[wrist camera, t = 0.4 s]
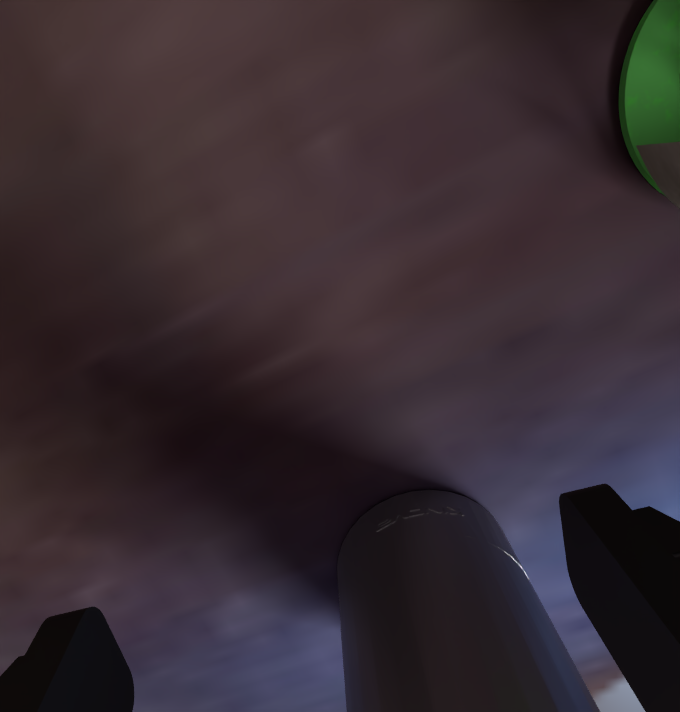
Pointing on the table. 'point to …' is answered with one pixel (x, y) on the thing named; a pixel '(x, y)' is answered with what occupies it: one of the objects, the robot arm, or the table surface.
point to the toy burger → (654, 98)
